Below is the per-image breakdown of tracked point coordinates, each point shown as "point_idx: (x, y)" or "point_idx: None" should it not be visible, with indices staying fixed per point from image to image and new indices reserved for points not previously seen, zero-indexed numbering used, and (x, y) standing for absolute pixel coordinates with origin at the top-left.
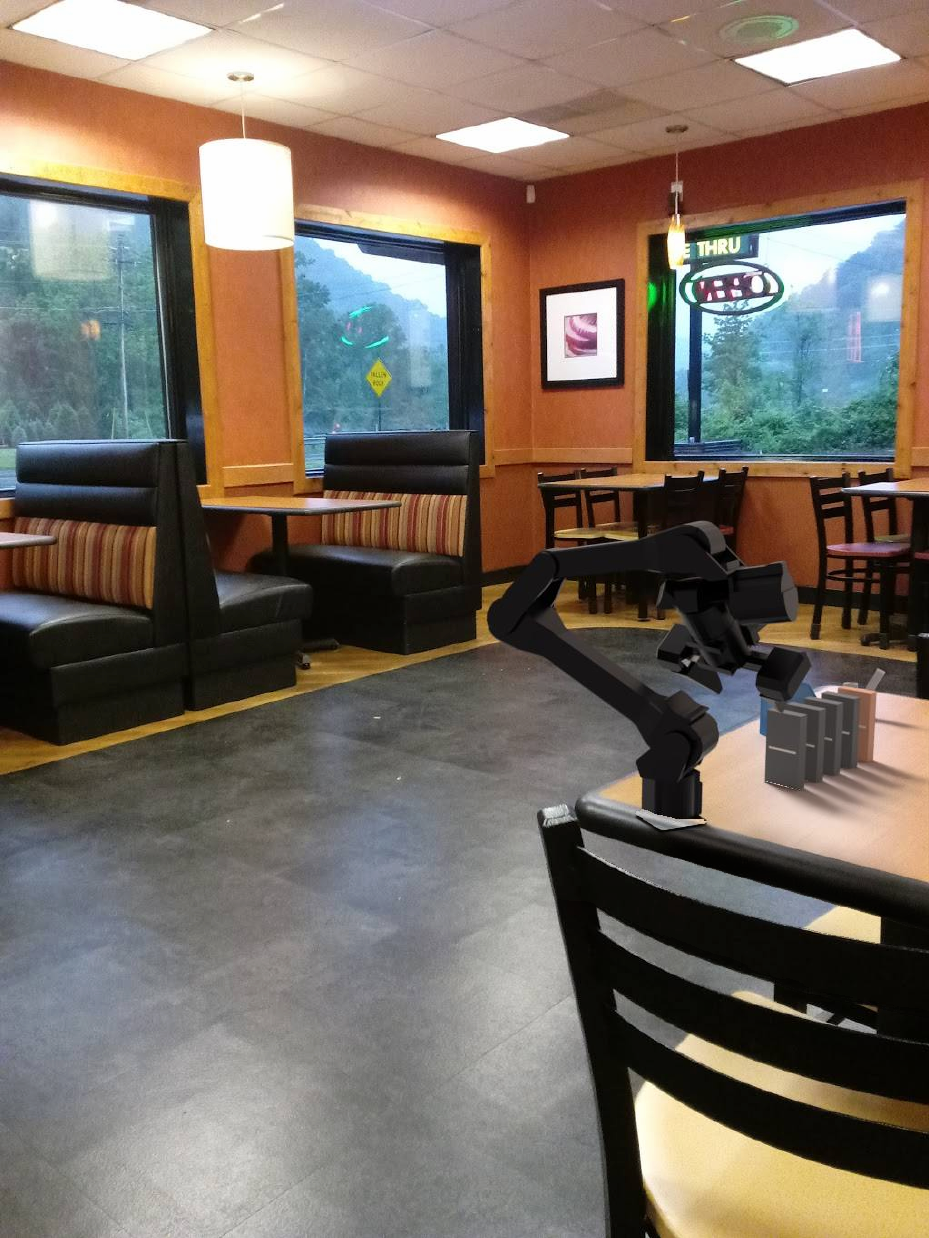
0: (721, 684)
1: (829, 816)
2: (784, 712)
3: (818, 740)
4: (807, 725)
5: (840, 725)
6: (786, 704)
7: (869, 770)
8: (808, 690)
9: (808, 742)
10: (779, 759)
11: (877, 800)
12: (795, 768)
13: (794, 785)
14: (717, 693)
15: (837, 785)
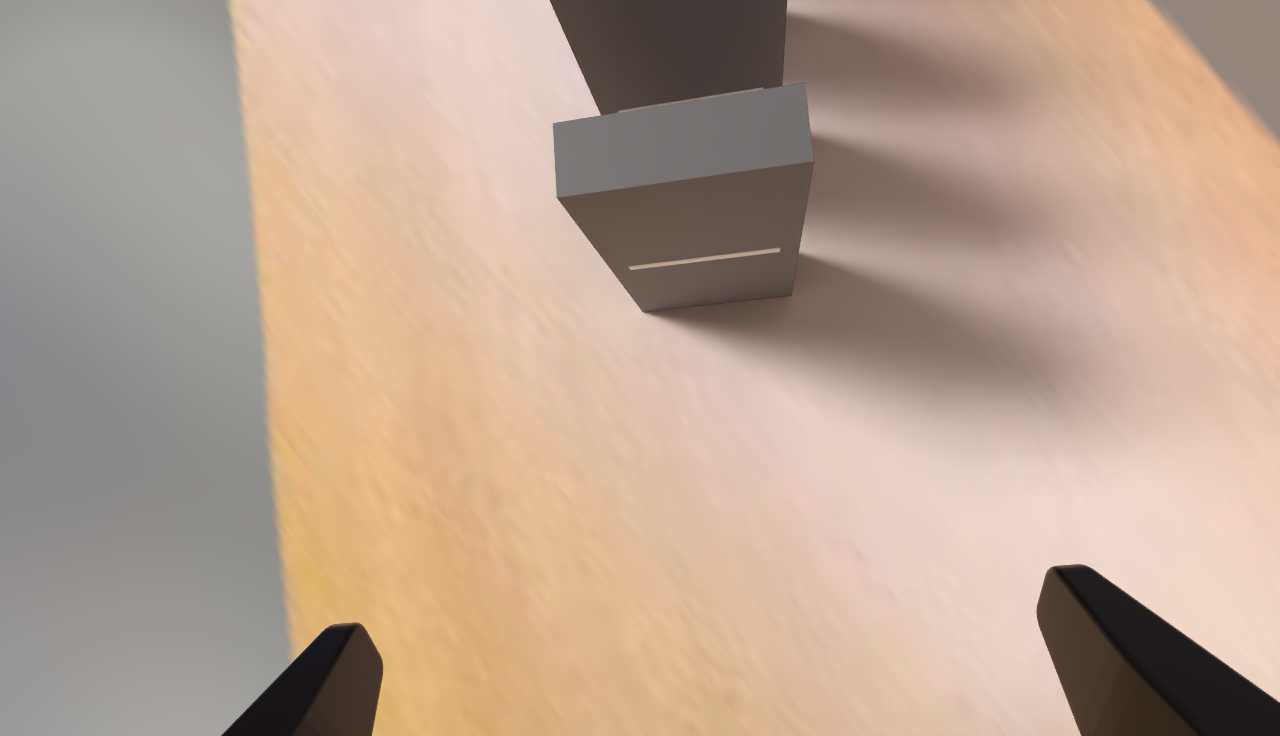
0: (333, 670)
1: (1076, 445)
2: (672, 160)
3: (782, 64)
4: (713, 36)
5: None
6: (1116, 591)
7: None
8: None
9: (728, 88)
10: (696, 276)
11: (1061, 140)
12: (779, 270)
13: (776, 292)
14: (376, 701)
15: (845, 123)
